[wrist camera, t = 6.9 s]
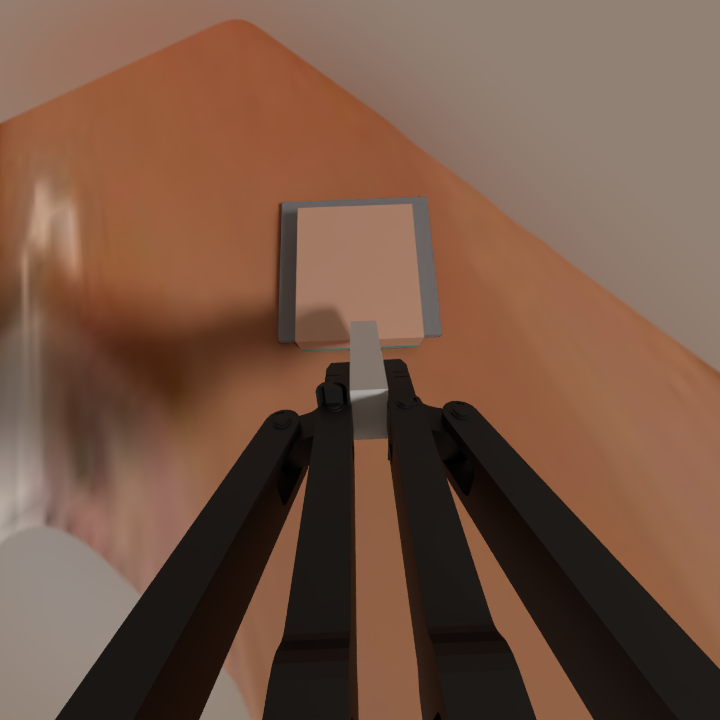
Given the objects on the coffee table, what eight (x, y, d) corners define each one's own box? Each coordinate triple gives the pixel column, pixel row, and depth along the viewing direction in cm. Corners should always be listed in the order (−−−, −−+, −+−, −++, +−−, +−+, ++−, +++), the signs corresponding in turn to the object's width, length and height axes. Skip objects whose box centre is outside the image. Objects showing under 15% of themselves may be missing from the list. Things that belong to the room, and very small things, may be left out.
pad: (279, 343, 23) (277, 340, 22) (283, 207, 26) (282, 202, 25) (439, 336, 23) (441, 334, 22) (425, 201, 26) (426, 196, 25)
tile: (295, 341, 19) (297, 208, 22) (302, 351, 22) (304, 229, 24) (424, 337, 19) (412, 203, 22) (417, 347, 22) (407, 225, 24)
